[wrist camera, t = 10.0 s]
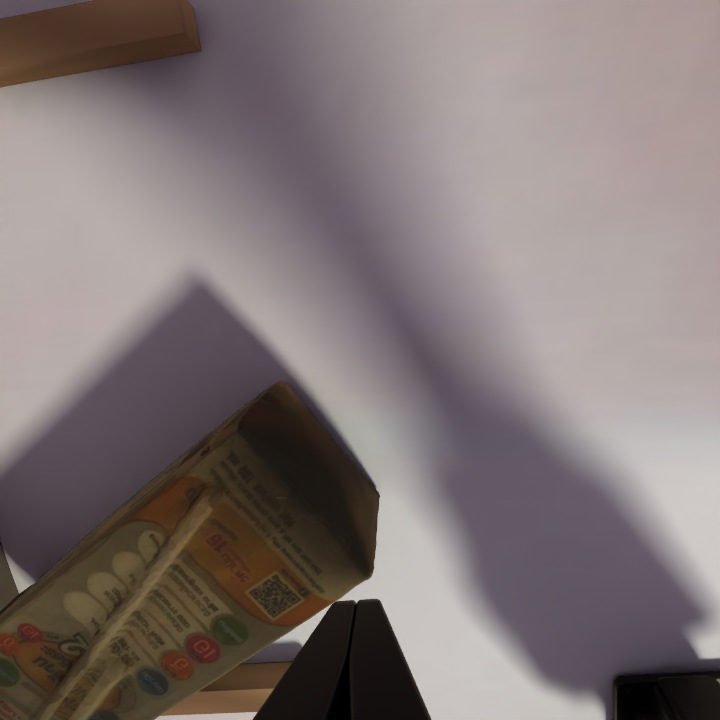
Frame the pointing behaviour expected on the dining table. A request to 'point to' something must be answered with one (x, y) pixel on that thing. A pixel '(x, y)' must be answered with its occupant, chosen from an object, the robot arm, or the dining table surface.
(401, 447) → the dining table surface
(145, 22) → the angled bracket
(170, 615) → the beverage carton
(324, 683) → the robot arm
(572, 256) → the dining table surface
